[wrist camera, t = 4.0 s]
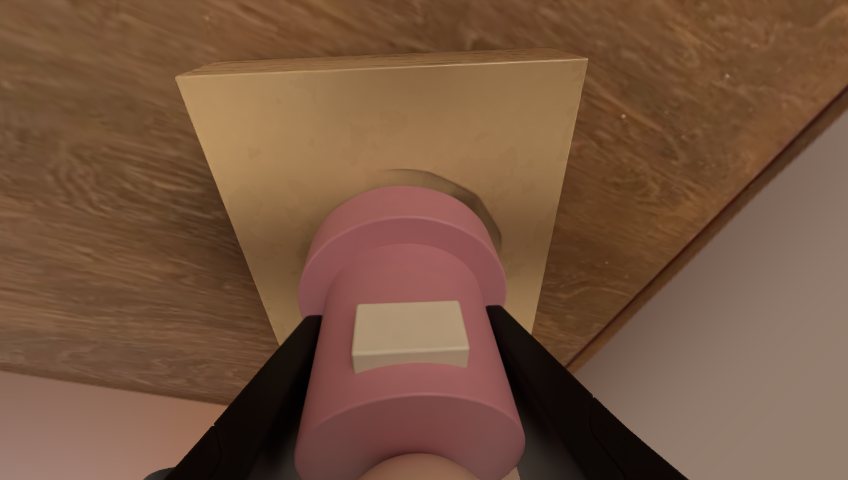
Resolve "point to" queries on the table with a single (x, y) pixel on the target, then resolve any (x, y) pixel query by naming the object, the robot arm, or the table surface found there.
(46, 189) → the table surface
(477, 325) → the doll
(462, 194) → the doll stand
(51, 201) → the table surface
